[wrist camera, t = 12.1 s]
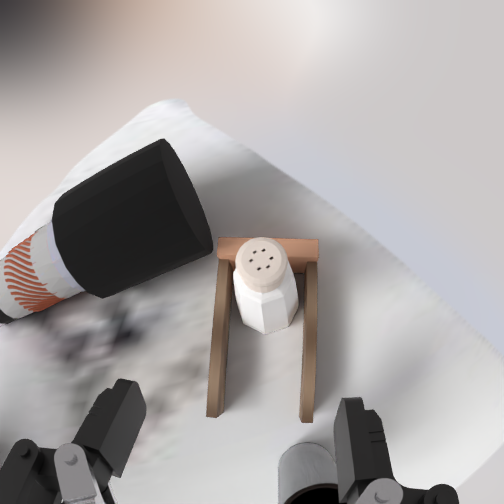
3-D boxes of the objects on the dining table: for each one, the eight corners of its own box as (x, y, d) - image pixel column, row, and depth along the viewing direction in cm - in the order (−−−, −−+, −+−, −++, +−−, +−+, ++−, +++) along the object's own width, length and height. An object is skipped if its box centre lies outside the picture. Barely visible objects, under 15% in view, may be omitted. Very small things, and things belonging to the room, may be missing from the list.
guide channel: (308, 416, 23) (314, 425, 19) (213, 411, 23) (203, 418, 20) (313, 257, 28) (318, 239, 24) (226, 255, 29) (218, 237, 25)
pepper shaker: (311, 306, 26) (333, 262, 16) (264, 347, 25) (255, 332, 15) (270, 262, 28) (266, 196, 18) (223, 300, 27) (190, 255, 17)
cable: (2, 313, 33) (-43, 265, 26) (206, 210, 32) (162, 124, 25) (-15, 370, 25) (-71, 322, 19) (220, 278, 24) (156, 167, 17)
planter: (288, 494, 20) (293, 553, 10) (270, 453, 22) (266, 499, 12) (338, 475, 20) (370, 526, 11) (321, 434, 22) (348, 470, 12)
